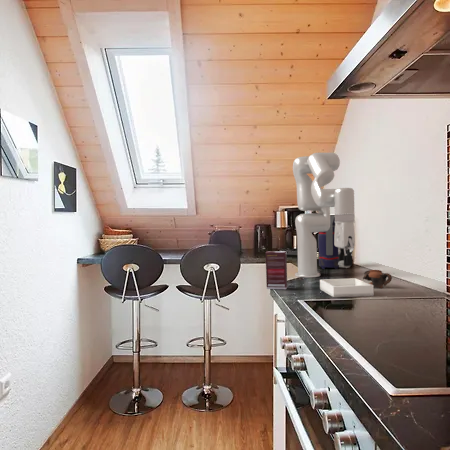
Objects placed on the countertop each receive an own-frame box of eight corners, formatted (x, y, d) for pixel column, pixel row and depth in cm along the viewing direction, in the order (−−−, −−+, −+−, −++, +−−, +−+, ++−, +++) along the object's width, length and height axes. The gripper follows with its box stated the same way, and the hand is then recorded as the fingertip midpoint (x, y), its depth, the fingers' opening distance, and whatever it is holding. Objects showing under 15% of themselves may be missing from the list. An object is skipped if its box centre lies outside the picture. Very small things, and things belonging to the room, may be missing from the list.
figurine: (335, 266, 151) (337, 251, 150) (343, 265, 153) (345, 251, 152) (345, 269, 146) (347, 254, 145) (353, 269, 149) (355, 254, 148)
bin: (320, 289, 157) (319, 279, 157) (356, 287, 158) (355, 278, 158) (333, 297, 141) (333, 286, 141) (373, 295, 143) (373, 285, 142)
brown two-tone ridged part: (361, 288, 158) (358, 270, 162) (369, 295, 165) (367, 277, 169) (390, 284, 152) (387, 265, 155) (397, 291, 158) (394, 272, 162)
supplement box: (287, 287, 162) (286, 250, 161) (286, 289, 157) (285, 252, 157) (267, 286, 164) (267, 250, 164) (265, 289, 160) (265, 252, 159)
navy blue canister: (319, 266, 223) (318, 215, 222) (339, 266, 220) (339, 215, 219) (318, 269, 210) (318, 216, 209) (341, 270, 207) (340, 215, 206)
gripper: (327, 219, 157) (328, 262, 157) (343, 219, 140) (344, 268, 141) (345, 218, 158) (345, 262, 158) (363, 218, 141) (363, 267, 141)
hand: (345, 264), depth 149 cm, fingers closed on figurine, 4 cm apart
